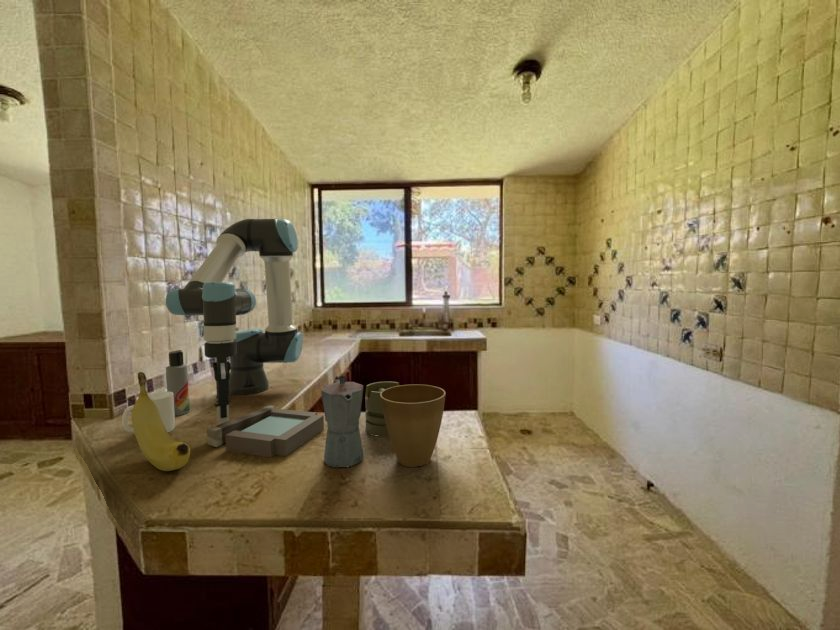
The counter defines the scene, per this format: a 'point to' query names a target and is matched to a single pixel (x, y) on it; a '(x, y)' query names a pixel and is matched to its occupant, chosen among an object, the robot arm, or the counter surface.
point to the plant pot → (413, 421)
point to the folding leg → (236, 425)
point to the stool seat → (276, 433)
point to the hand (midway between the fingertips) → (223, 428)
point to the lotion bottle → (178, 382)
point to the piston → (376, 408)
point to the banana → (156, 434)
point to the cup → (164, 406)
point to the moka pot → (342, 422)
